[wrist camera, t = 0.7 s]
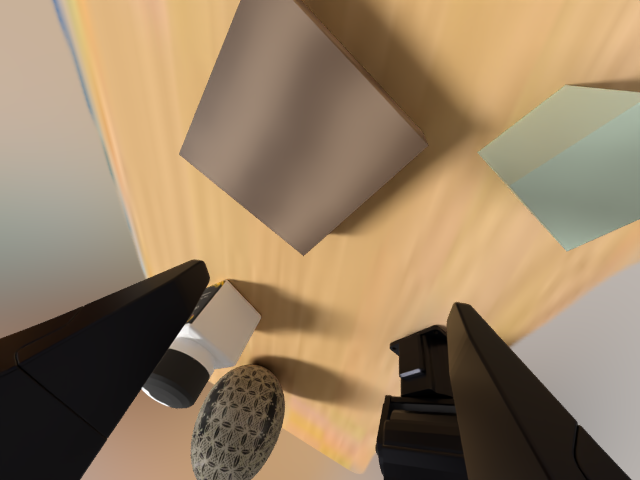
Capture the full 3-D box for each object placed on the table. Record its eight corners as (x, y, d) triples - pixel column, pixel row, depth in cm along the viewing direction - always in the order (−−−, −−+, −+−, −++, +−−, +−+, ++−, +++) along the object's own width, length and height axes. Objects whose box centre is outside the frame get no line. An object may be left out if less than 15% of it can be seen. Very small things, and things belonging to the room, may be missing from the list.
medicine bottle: (227, 277, 31) (149, 373, 21) (263, 316, 33) (208, 416, 24) (194, 292, 34) (114, 379, 24) (229, 325, 37) (169, 417, 27)
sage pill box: (611, 148, 15) (712, 186, 10) (520, 201, 18) (566, 251, 13) (564, 85, 14) (652, 93, 9) (477, 152, 17) (509, 186, 12)
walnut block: (422, 131, 17) (428, 145, 14) (316, 230, 24) (303, 255, 21) (287, -16, 15) (256, -40, 12) (211, 141, 22) (178, 154, 18)
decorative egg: (264, 342, 37) (199, 475, 25) (310, 386, 41) (273, 519, 29) (217, 354, 43) (147, 466, 31) (262, 391, 47) (214, 503, 35)
